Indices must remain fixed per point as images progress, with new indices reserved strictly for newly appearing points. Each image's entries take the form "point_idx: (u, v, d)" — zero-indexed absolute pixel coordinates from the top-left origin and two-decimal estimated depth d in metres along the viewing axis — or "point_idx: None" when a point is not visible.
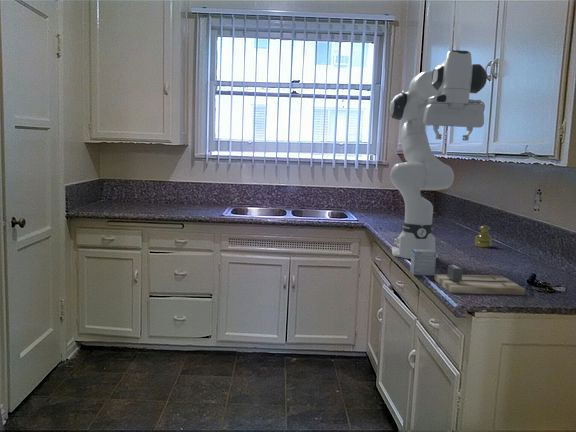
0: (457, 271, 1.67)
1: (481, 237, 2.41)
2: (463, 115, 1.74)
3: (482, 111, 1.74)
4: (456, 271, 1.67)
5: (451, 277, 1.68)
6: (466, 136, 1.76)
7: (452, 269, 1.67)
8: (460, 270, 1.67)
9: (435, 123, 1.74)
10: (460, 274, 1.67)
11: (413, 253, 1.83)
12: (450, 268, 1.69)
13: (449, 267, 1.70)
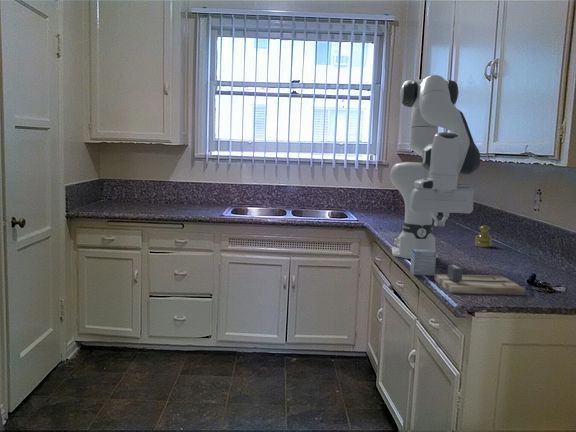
0: (457, 271, 1.67)
1: (481, 237, 2.41)
2: (451, 201, 1.64)
3: (471, 197, 1.64)
4: (456, 271, 1.67)
5: (451, 277, 1.68)
6: (442, 222, 1.66)
7: (452, 269, 1.67)
8: (460, 270, 1.67)
9: (421, 210, 1.64)
10: (460, 274, 1.67)
11: (413, 253, 1.83)
12: (450, 268, 1.69)
13: (449, 267, 1.70)
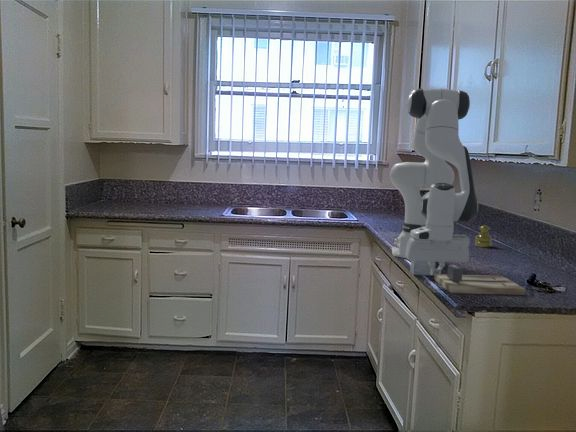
0: (457, 271, 1.67)
1: (481, 237, 2.41)
2: (447, 251, 1.66)
3: (467, 247, 1.66)
4: (456, 271, 1.67)
5: (451, 277, 1.68)
6: (438, 271, 1.68)
7: (452, 269, 1.67)
8: (460, 270, 1.67)
9: (418, 259, 1.66)
10: (460, 274, 1.67)
11: None
12: (450, 268, 1.69)
13: (449, 267, 1.70)
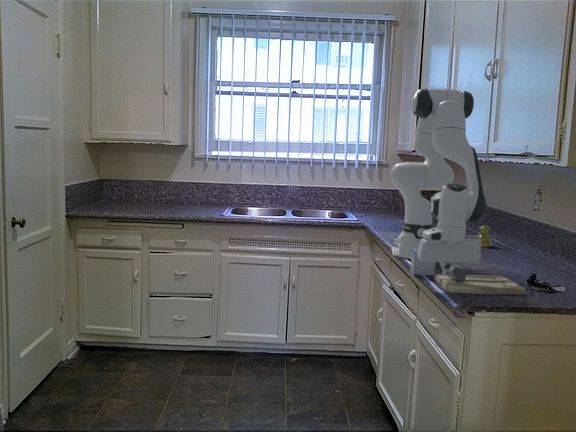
0: (461, 271, 1.67)
1: (481, 237, 2.41)
2: (459, 252, 1.67)
3: (479, 247, 1.67)
4: (460, 271, 1.67)
5: (455, 277, 1.68)
6: (450, 272, 1.68)
7: (456, 269, 1.67)
8: (464, 270, 1.67)
9: (429, 260, 1.67)
10: (464, 274, 1.67)
11: (413, 253, 1.83)
12: None
13: None
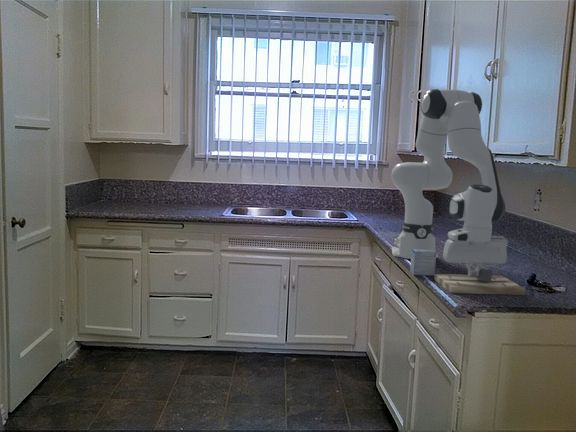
0: (486, 272, 1.67)
1: None
2: (485, 253, 1.67)
3: (505, 248, 1.67)
4: (485, 272, 1.67)
5: (480, 278, 1.69)
6: (476, 272, 1.69)
7: (482, 270, 1.68)
8: (489, 271, 1.67)
9: (456, 261, 1.67)
10: (489, 275, 1.67)
11: (413, 253, 1.83)
12: None
13: None
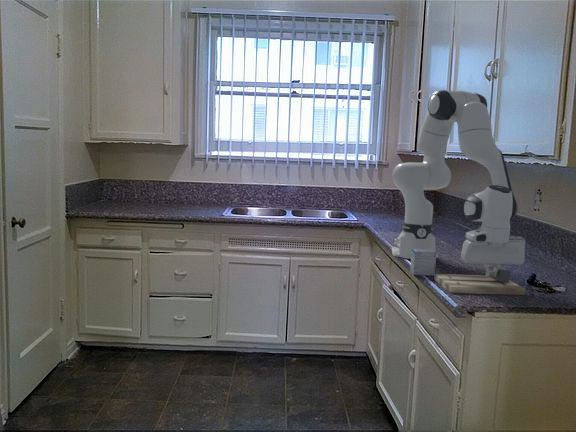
0: (505, 272, 1.67)
1: None
2: (503, 253, 1.67)
3: (523, 249, 1.67)
4: (504, 272, 1.67)
5: (498, 278, 1.69)
6: (494, 273, 1.69)
7: (500, 271, 1.68)
8: (508, 271, 1.67)
9: (474, 261, 1.67)
10: (507, 275, 1.68)
11: (413, 253, 1.83)
12: None
13: None
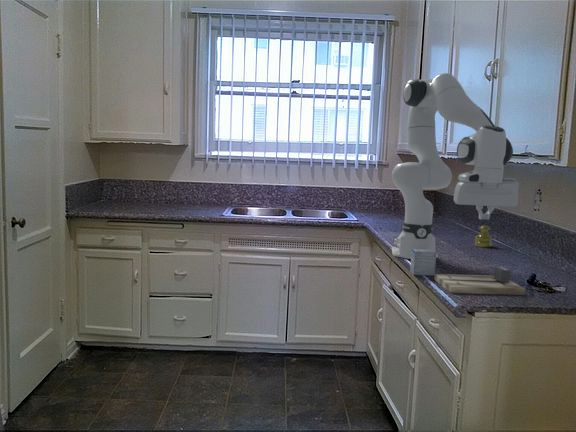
0: (505, 273, 1.67)
1: (481, 237, 2.41)
2: (496, 195, 1.64)
3: (516, 190, 1.64)
4: (504, 273, 1.67)
5: (499, 278, 1.69)
6: (487, 215, 1.66)
7: (500, 271, 1.68)
8: (508, 272, 1.67)
9: (467, 203, 1.64)
10: (508, 275, 1.68)
11: (413, 253, 1.83)
12: (498, 269, 1.70)
13: (496, 268, 1.71)
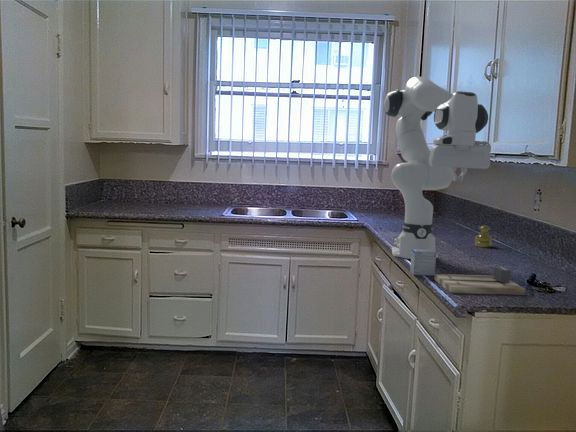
0: (505, 273, 1.67)
1: (481, 237, 2.41)
2: (469, 157, 1.72)
3: (488, 153, 1.72)
4: (504, 273, 1.67)
5: (499, 278, 1.69)
6: (460, 177, 1.74)
7: (500, 271, 1.68)
8: (508, 272, 1.67)
9: (441, 165, 1.72)
10: (508, 275, 1.68)
11: (413, 253, 1.83)
12: (498, 269, 1.70)
13: (496, 268, 1.71)
